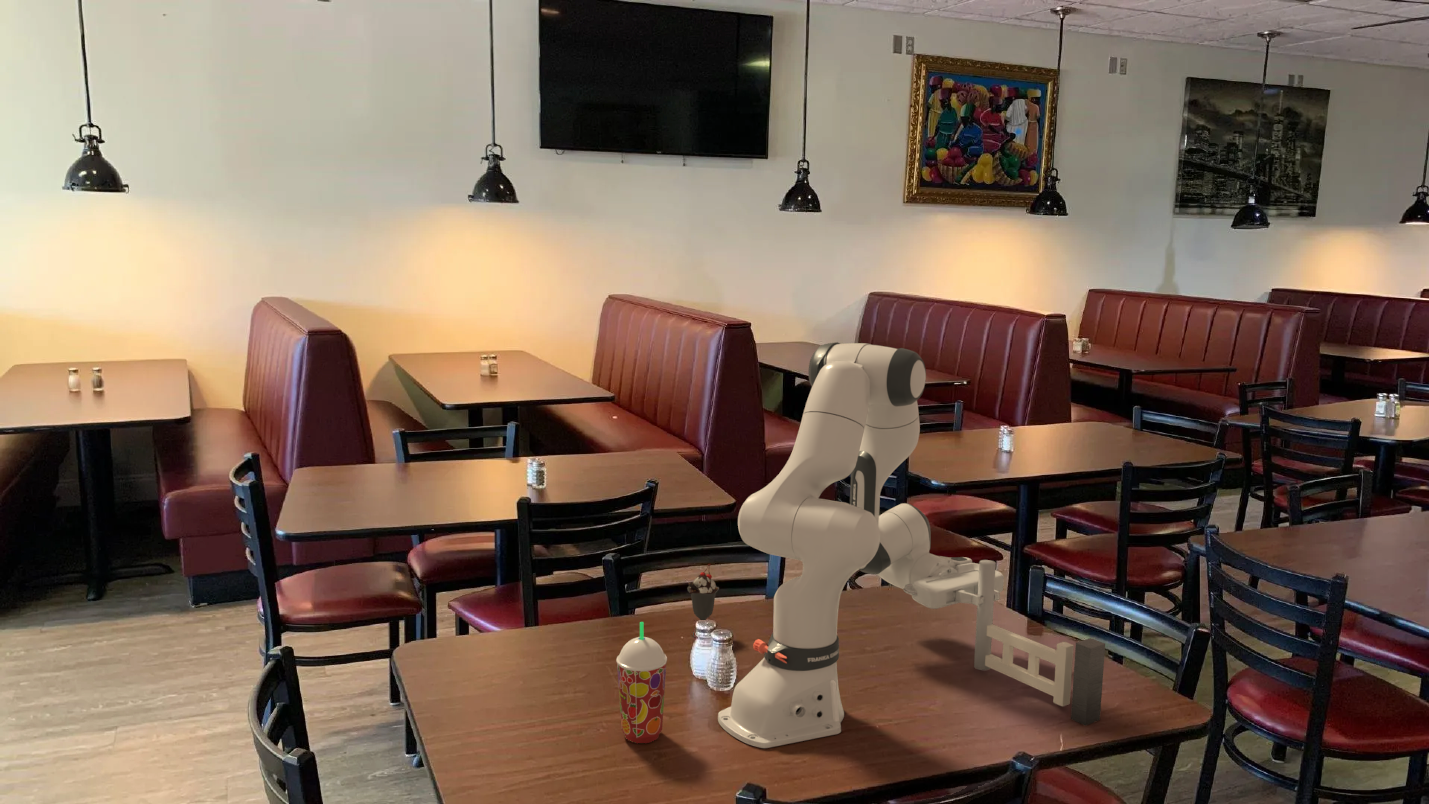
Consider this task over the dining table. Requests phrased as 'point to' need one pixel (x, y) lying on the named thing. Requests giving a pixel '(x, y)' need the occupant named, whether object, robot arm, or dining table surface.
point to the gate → (1018, 647)
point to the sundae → (703, 595)
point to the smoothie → (641, 688)
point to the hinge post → (1087, 681)
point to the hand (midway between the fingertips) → (989, 599)
